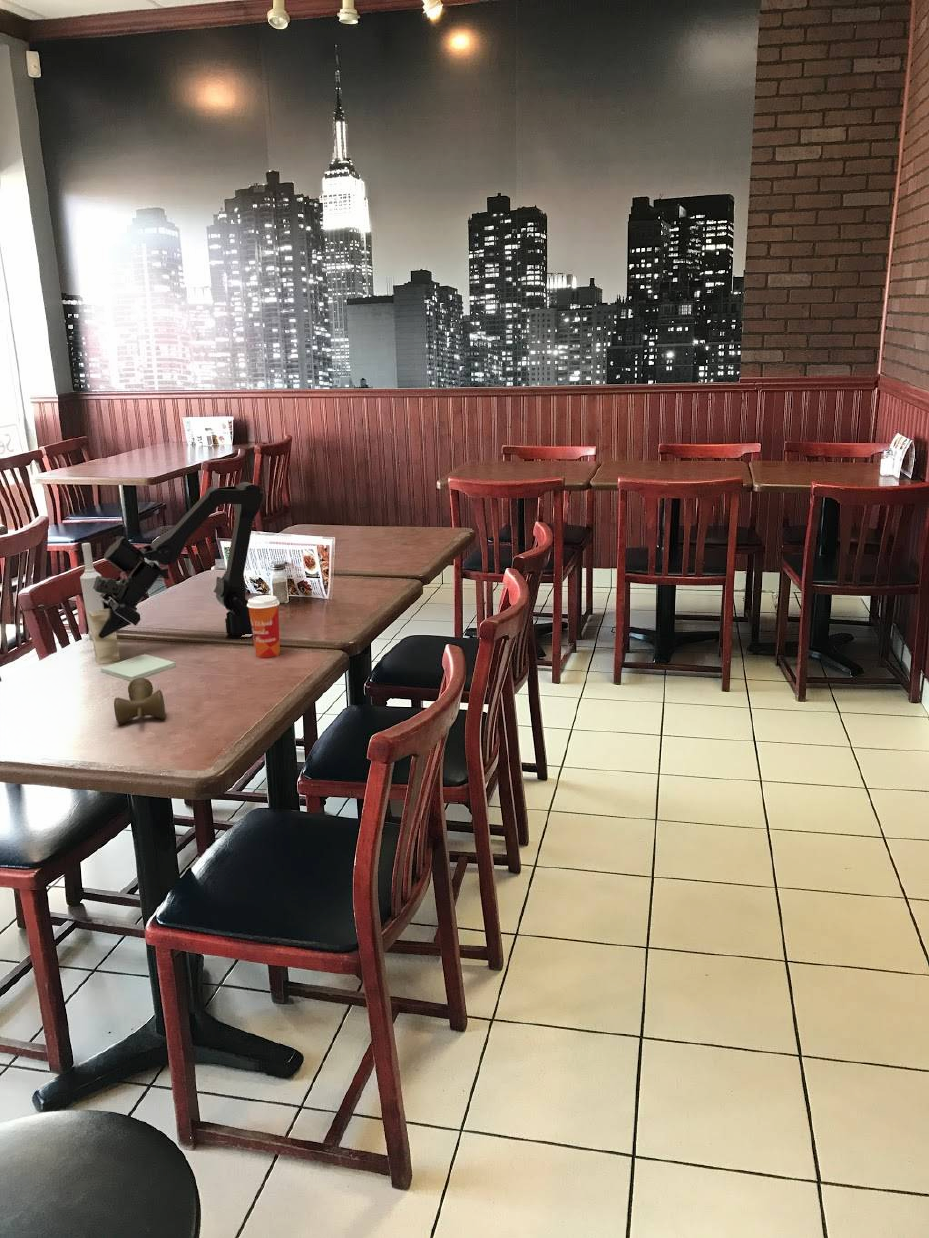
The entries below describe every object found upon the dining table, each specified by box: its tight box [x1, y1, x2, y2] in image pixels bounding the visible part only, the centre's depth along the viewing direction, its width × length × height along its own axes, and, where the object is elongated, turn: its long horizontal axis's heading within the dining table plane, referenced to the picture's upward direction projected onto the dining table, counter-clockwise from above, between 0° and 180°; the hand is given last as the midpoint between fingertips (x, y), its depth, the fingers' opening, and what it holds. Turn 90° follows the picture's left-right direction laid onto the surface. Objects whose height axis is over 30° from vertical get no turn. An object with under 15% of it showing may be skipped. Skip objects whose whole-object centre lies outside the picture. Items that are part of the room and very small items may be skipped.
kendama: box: [113, 677, 166, 726], centre depth 206 cm, size 6×10×20 cm
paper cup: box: [247, 594, 281, 659], centre depth 240 cm, size 8×8×14 cm
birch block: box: [89, 609, 121, 665], centre depth 241 cm, size 5×5×12 cm
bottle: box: [79, 542, 106, 641], centre depth 258 cm, size 5×5×25 cm
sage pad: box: [100, 653, 176, 682], centre depth 234 cm, size 12×12×1 cm
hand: (98, 634), depth 240 cm, fingers closed on birch block, 5 cm apart
